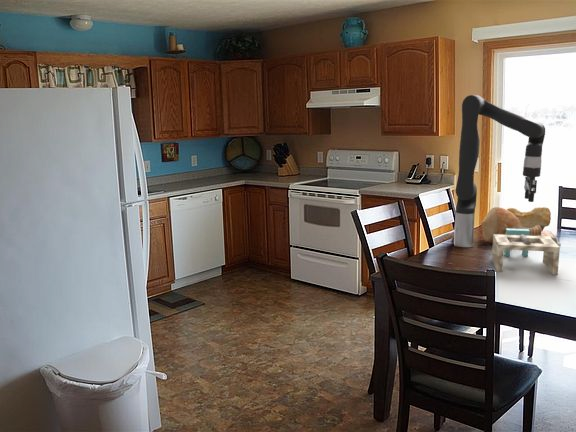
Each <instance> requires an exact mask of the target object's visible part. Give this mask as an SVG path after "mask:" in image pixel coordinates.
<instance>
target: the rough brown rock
mask: <svg viewBox="0 0 576 432" xmlns="http://www.w3.org/2000/svg"><path fill="white" fill-rule="evenodd" d="M506 210H508V211H510V212H511V213H513V214H514V215H515V216H516V217H517V218H520V223H521V226H522V227H525V228H533V227H534V226H536V225H540V226H541V231H544V229H545V228H546V227H550V224H551V220H552V219H551V218H552V215H551V214H552V213H551V210H550V208H548V207H546V206H543V207H534V208H533V209H532V210H530V211H520V210H518V209H517V208H515V207H509V208H506Z"/></svg>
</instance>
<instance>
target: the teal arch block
mask: <svg viewBox="0 0 576 432" xmlns="http://www.w3.org/2000/svg"><path fill="white" fill-rule="evenodd" d="M521 234H524V235H525V236H529V235H530V231H529V229H510V228H506V234H505V235H521ZM503 255H504V256H506V257H510V256H511V250H505V249H504V251H503ZM521 255H522V257H524V258H527V257H529V251H528V250H521Z"/></svg>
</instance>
